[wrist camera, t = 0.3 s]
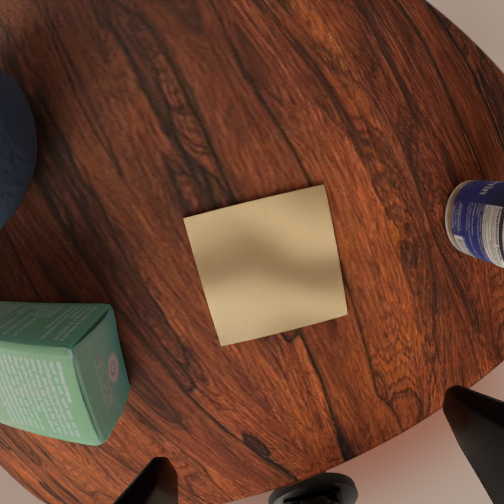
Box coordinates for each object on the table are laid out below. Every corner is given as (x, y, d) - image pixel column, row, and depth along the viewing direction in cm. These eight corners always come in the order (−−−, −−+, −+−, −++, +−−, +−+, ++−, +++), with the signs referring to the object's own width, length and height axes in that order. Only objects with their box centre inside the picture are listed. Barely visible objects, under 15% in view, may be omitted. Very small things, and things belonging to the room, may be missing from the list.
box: (136, 388, 22) (106, 452, 15) (10, 371, 22) (-33, 413, 15) (118, 301, 21) (71, 350, 14) (-12, 297, 21) (-67, 328, 13)
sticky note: (346, 312, 22) (347, 314, 22) (221, 344, 22) (221, 346, 22) (323, 184, 20) (324, 184, 20) (184, 218, 20) (183, 218, 20)
